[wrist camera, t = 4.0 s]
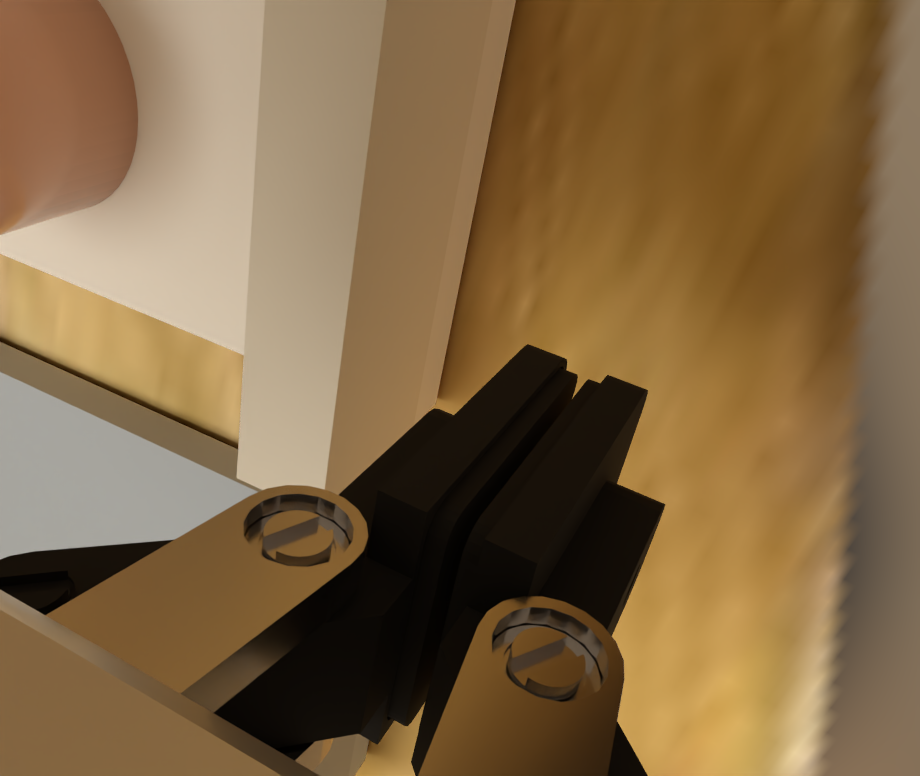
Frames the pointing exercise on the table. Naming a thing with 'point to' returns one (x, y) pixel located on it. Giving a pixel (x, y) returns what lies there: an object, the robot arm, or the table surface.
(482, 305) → the table surface
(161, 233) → the strip
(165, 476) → the grey blocky piece
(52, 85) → the canister
